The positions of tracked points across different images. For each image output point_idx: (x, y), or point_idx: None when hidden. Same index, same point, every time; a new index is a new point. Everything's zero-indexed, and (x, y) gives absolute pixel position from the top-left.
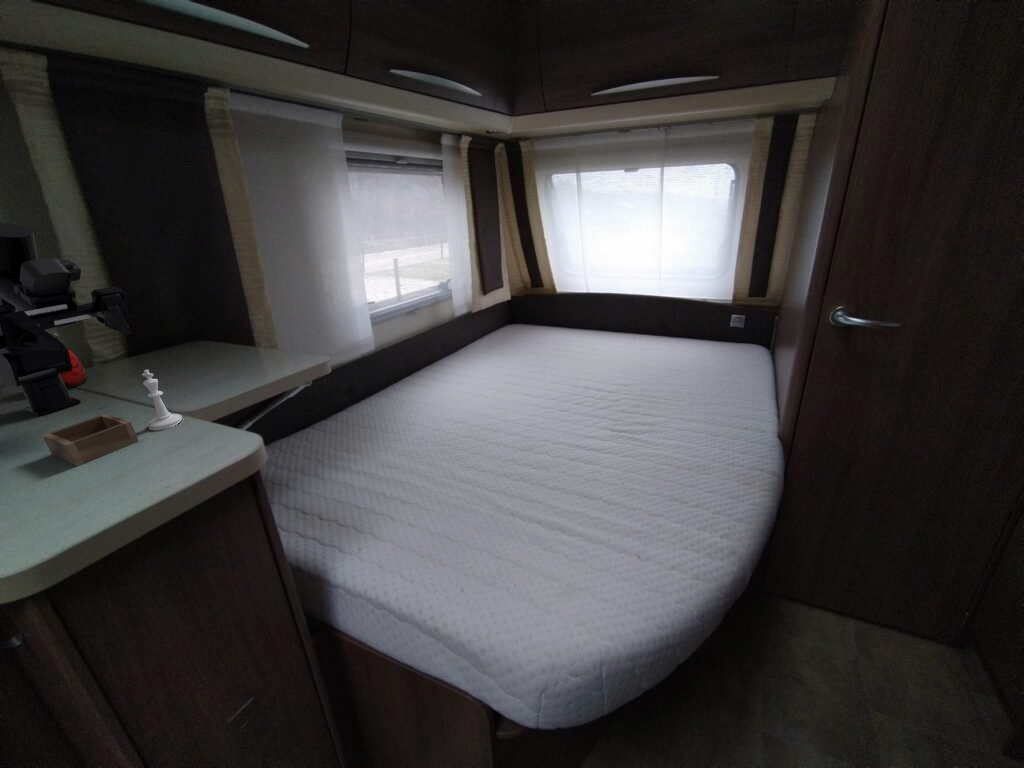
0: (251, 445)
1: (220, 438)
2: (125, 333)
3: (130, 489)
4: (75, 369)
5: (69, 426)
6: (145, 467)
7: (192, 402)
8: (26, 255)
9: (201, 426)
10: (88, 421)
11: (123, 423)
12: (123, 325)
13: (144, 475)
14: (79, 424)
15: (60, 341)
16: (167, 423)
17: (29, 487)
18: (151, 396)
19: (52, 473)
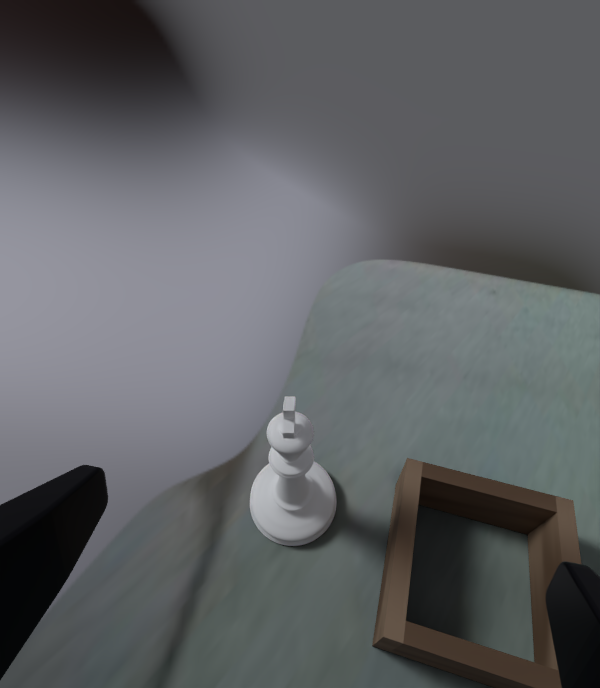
0: (353, 264)
1: (342, 320)
2: (93, 530)
3: (526, 334)
4: None
5: (508, 668)
6: (471, 366)
7: (128, 557)
8: None
9: (297, 393)
10: (449, 636)
11: (422, 468)
12: (69, 492)
13: (490, 347)
14: (480, 645)
15: (580, 589)
16: (314, 464)
17: None
18: (311, 450)
19: (593, 560)
